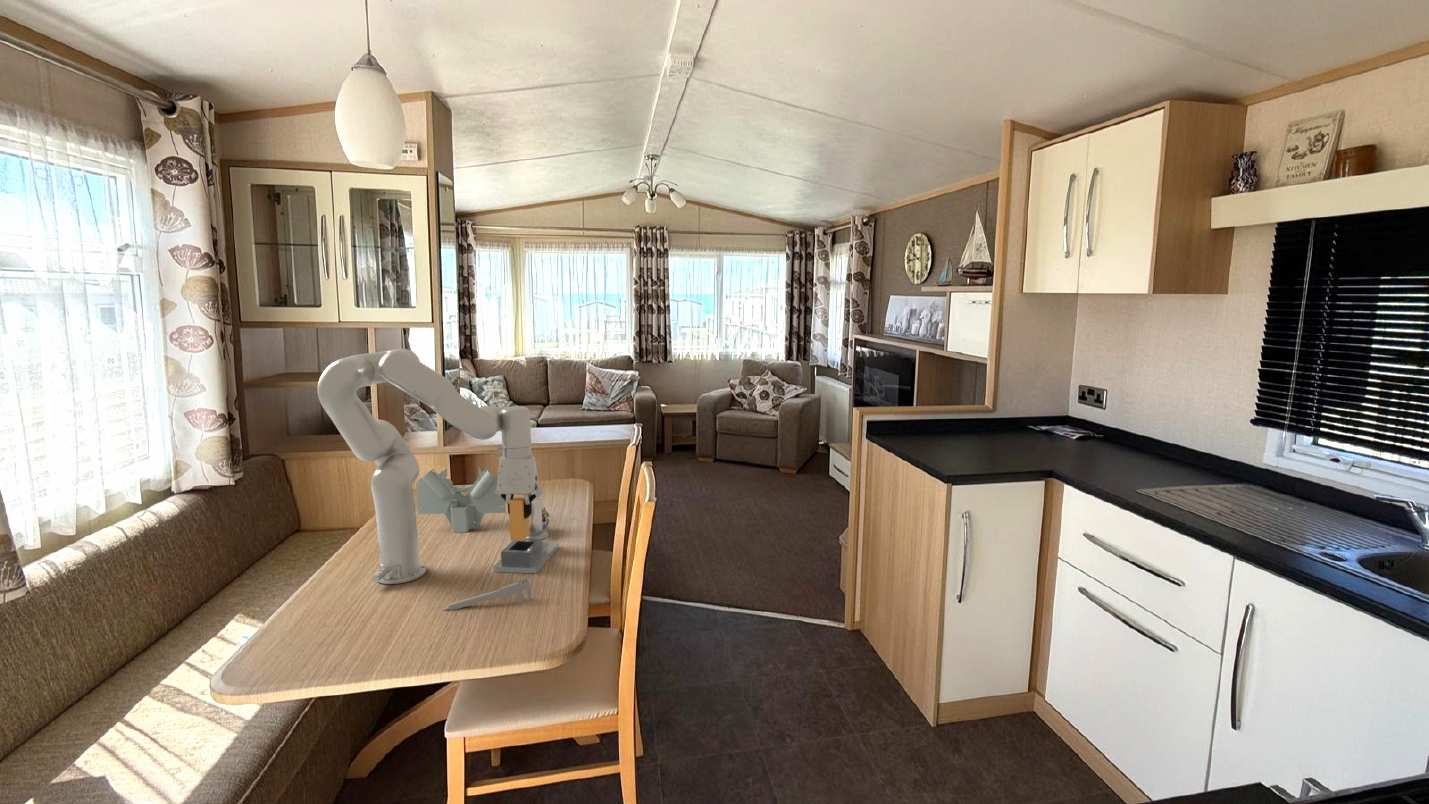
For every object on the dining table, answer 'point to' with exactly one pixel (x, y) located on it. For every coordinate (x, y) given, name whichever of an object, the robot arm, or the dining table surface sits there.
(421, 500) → the bracket
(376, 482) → the robot arm
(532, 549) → the gray socket post fixture
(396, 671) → the dining table surface
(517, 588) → the caliper
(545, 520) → the passion flower
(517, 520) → the tan rectangular block
